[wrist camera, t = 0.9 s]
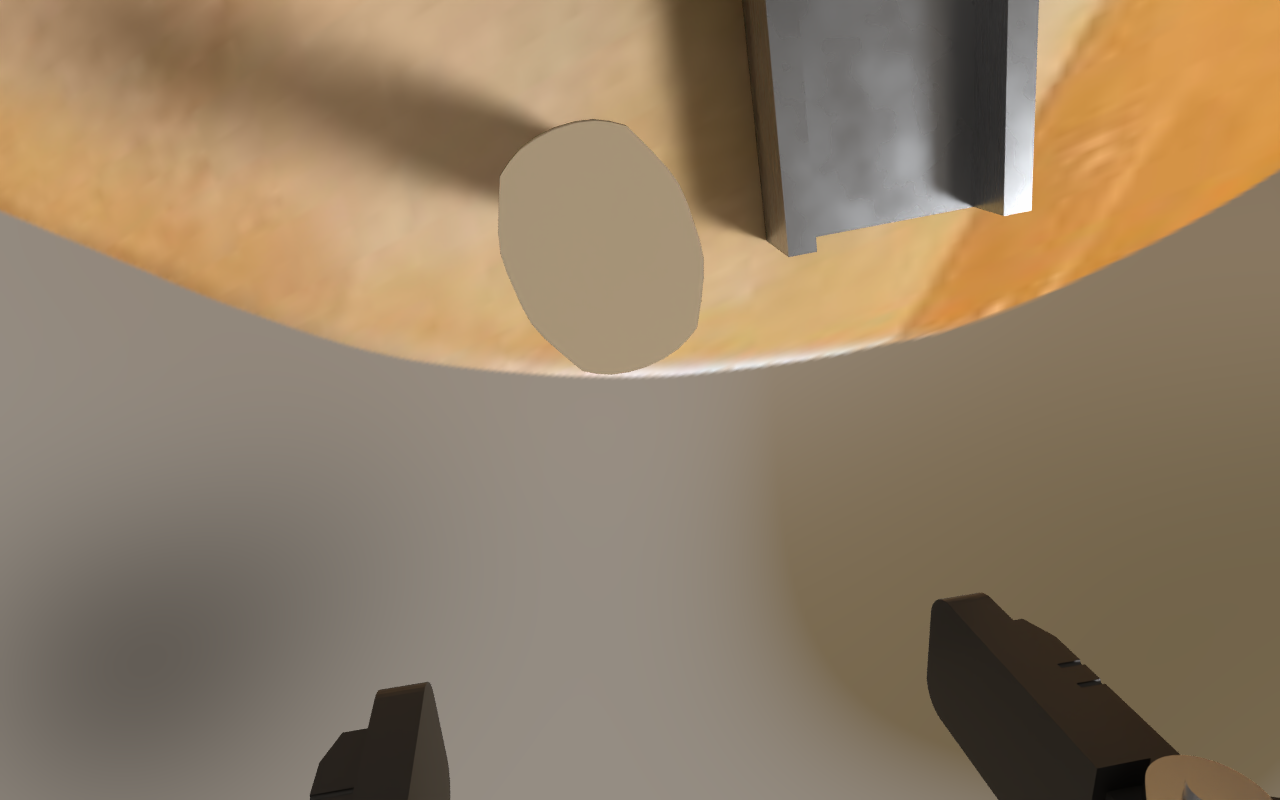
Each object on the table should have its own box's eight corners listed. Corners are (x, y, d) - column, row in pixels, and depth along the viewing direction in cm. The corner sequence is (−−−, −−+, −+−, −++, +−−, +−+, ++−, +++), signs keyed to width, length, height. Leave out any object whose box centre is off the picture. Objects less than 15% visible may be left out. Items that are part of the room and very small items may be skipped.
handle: (556, 271, 35) (562, 398, 21) (497, 129, 32) (459, 166, 18) (657, 232, 34) (731, 334, 21) (605, 86, 32) (650, 91, 18)
